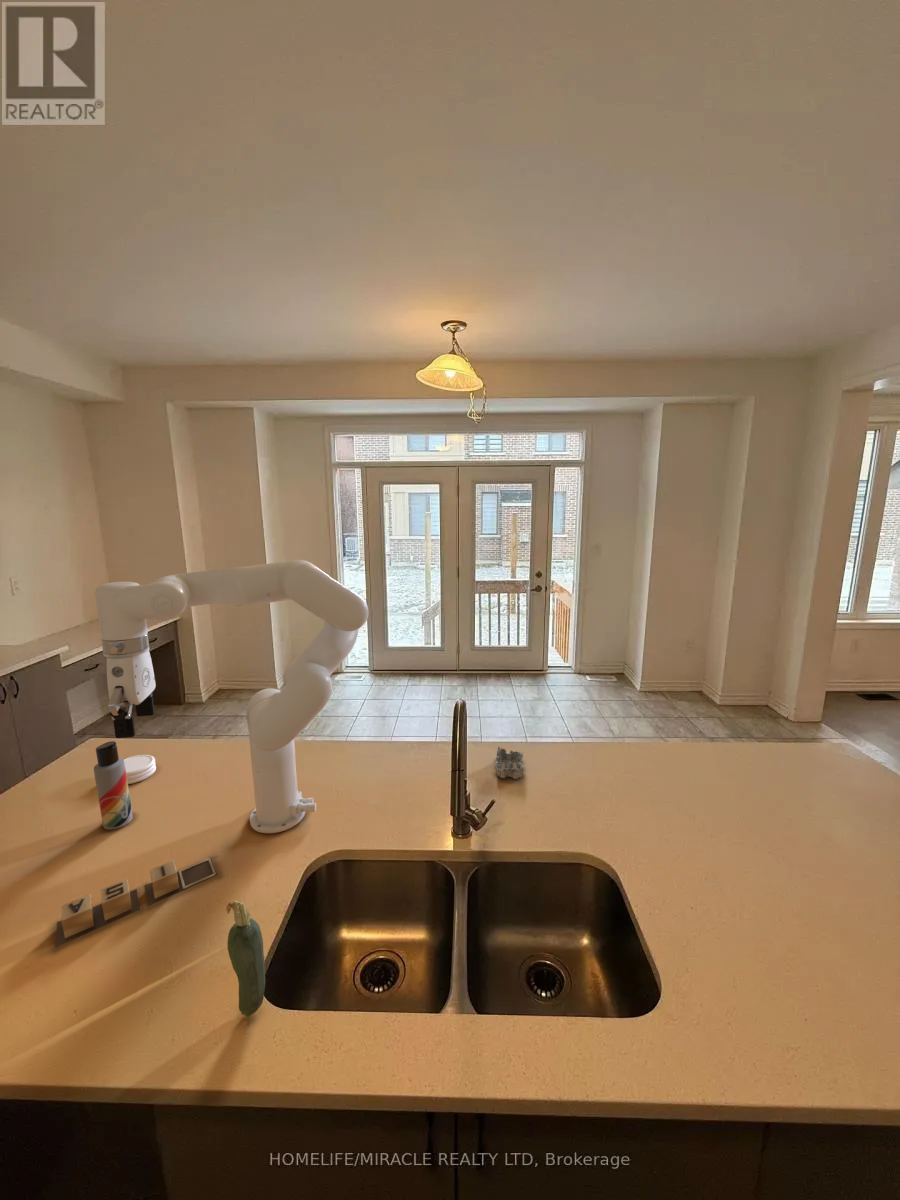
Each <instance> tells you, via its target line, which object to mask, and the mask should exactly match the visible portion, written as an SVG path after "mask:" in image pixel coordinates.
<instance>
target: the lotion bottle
mask: <svg viewBox="0 0 900 1200" xmlns="http://www.w3.org/2000/svg"><path fill="white" fill-rule="evenodd" d="M95 753H96V760H97V763H96V764H95V765H94V766H93V774H94V781H95V785H96V793H97V798H98V804H99V809H100V816H101V822H102V826H103V828H104V829H105V830H108V831H109V830H110V831H113V830H117V829H121V828H123V827H125V826H126V825H128V824H129V823H130V822H132V820H133V808H132V802H131V797H130V790H129V789H130V788H129V784H128V782H127V776H126V769H125V763H124V758H122V757H119V752H118V745H117V742H116V741H112V740H111V741H107V742H104V743H102V744H100V745H98V746H97V747H96V748H95Z"/></svg>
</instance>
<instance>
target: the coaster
mask: <svg viewBox="0 0 900 1200" xmlns="http://www.w3.org/2000/svg"><path fill="white" fill-rule="evenodd" d="M123 760H124V763H125V769H126V776H127V782H128V785H131V784H136V783H139V782H142V781H144V780H147V779H148V778H150V777H151V776H153V775H154V773H155V772H156V770H157V766H156V759H155V757H154V756H153V755H150V754H138V755H133V756H129V757H127V758H123Z"/></svg>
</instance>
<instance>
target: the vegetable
mask: <svg viewBox="0 0 900 1200" xmlns="http://www.w3.org/2000/svg"><path fill="white" fill-rule="evenodd" d="M225 909H226V912H227V914H230V912H232V911H233V919H234V922H235V923H234V924H233V925H232V926H231V927H230V929H229V931H228V935H227V942H226V943H227V945H226V946H227V952H228V957H229V959H230V962H231V963H230V964H231V965H232V968H233V971H234V973H235V974H236V977H237V982H238V1010H239V1012H240V1014H241V1015H243V1016H244V1017H243V1018H244V1019H245V1020H246V1019H248V1018H249V1017H251V1016H253V1015H254V1014H255V1013H256V1012H257V1011H258V1010H259V1009H260V1008H261V1006H262V1004H263V1002H264V998H265V989H266V969H265V968H266V967H265V953H264V940H263V934H262V929H261V926H260V925H259V923H258V922H257V921H256V920H255V919H254V918H252V917H251V914H250V912H249V910H248V908H246V905H245V903H244V902H242V901H237V900H236V899H235V900H232V901H230V902H229V903H227V905H226V908H225ZM231 910H232V911H231Z"/></svg>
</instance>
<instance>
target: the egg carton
mask: <svg viewBox="0 0 900 1200" xmlns="http://www.w3.org/2000/svg"><path fill="white" fill-rule="evenodd" d="M496 750H497V751H496V757H495V767H496V769H495V770H496V776H497V777H499V778H500V779H505V778H508V777H510V778H513V779H518V778H522V775H523V773H522V768H523V766H524V753H523V752H522V751H517V750H516V751H513V750H512V749H511V750H510V751H509V752H508V751H507V750H506V749H505V748H501V747H500V746H497V749H496Z"/></svg>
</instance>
